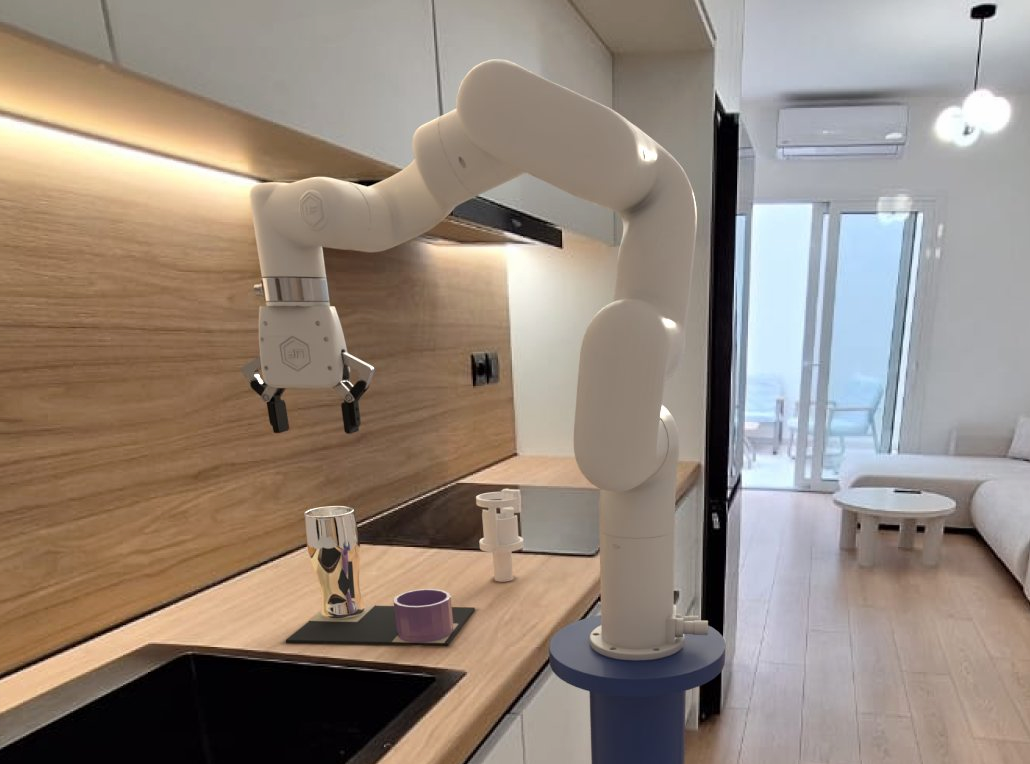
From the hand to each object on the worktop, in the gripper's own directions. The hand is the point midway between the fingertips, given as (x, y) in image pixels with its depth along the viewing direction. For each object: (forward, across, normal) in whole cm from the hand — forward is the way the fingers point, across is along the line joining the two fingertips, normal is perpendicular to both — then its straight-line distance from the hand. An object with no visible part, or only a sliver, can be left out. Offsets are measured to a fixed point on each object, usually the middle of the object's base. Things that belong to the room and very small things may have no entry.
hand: (316, 432), depth 108 cm
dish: (+26, +14, -7) cm, 30 cm away
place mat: (+26, +8, -4) cm, 28 cm away
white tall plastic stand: (+26, +20, +18) cm, 38 cm away
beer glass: (+26, 0, 0) cm, 26 cm away
